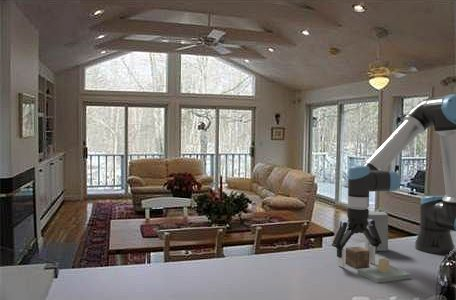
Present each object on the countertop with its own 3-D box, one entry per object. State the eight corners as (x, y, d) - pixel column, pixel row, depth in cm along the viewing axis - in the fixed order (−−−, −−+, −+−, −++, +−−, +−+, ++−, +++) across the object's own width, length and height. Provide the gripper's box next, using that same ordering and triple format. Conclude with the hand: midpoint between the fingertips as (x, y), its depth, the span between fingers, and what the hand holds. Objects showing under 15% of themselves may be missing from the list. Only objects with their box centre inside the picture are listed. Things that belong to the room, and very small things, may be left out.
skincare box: (384, 247, 181) (384, 211, 181) (388, 252, 174) (389, 214, 174) (363, 246, 182) (364, 210, 182) (367, 251, 175) (368, 213, 175)
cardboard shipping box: (358, 262, 160) (358, 246, 159) (369, 266, 154) (369, 250, 154) (345, 263, 157) (345, 247, 157) (355, 268, 152) (355, 251, 152)
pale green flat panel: (389, 269, 151) (390, 254, 151) (410, 278, 142) (411, 262, 141) (357, 273, 146) (357, 257, 146) (377, 282, 137) (377, 266, 137)
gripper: (378, 204, 163) (377, 258, 163) (323, 207, 154) (322, 264, 155) (392, 207, 156) (390, 264, 156) (335, 210, 147) (334, 270, 148)
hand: (356, 264), depth 156 cm, fingers open, 13 cm apart
